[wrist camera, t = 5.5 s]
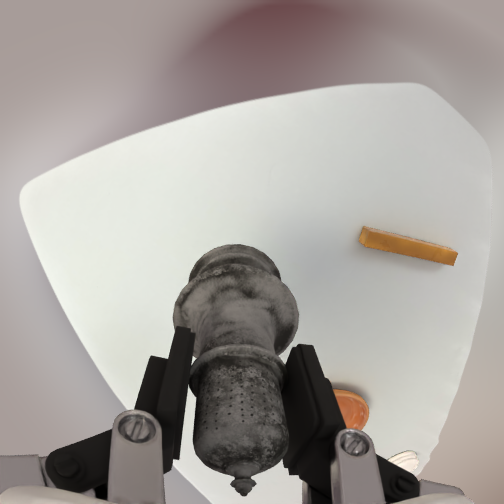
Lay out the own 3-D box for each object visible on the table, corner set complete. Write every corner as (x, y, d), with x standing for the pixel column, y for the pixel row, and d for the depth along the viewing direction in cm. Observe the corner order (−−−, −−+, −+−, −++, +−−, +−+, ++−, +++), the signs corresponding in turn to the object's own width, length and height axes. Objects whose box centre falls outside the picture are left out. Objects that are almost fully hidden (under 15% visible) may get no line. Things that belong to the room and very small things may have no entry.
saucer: (247, 433, 42) (248, 448, 40) (299, 369, 38) (303, 384, 35) (326, 446, 46) (330, 458, 43) (382, 390, 41) (389, 403, 38)
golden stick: (362, 225, 31) (369, 230, 30) (450, 248, 33) (458, 252, 31) (358, 241, 32) (364, 246, 30) (445, 260, 34) (453, 266, 32)
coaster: (411, 445, 50) (416, 456, 47) (417, 457, 53) (422, 467, 50) (372, 466, 51) (376, 477, 48) (382, 476, 55) (386, 486, 51)
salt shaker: (172, 247, 16) (88, 440, 5) (281, 231, 16) (371, 416, 5) (195, 336, 18) (173, 523, 7) (290, 323, 18) (343, 507, 7)
